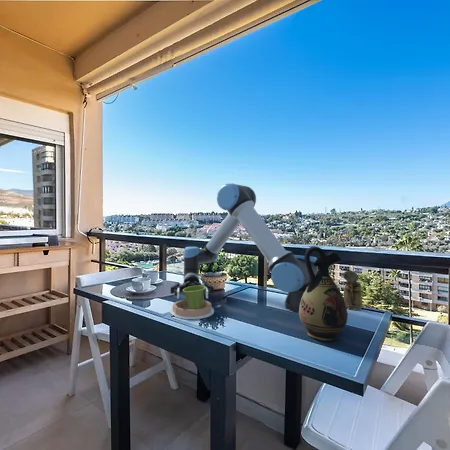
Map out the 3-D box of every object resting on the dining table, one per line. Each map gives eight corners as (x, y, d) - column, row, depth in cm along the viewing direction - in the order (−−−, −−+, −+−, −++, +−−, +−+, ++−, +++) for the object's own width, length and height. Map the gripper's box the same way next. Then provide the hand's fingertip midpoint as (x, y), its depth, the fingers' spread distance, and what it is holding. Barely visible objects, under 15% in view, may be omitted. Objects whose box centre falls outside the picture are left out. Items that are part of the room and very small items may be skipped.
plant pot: (204, 312, 115) (202, 290, 115) (181, 313, 117) (179, 291, 117) (210, 305, 124) (208, 285, 124) (189, 305, 126) (187, 285, 126)
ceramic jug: (335, 326, 106) (337, 245, 105) (355, 345, 91) (358, 250, 90) (288, 326, 106) (290, 244, 105) (301, 345, 90) (303, 249, 89)
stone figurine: (337, 310, 125) (338, 268, 125) (343, 302, 136) (344, 264, 136) (359, 314, 120) (361, 271, 120) (364, 306, 132) (365, 266, 131)
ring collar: (222, 310, 123) (222, 302, 123) (196, 322, 108) (196, 314, 107) (189, 302, 132) (189, 295, 132) (160, 313, 117) (160, 305, 117)
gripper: (216, 289, 139) (221, 303, 117) (166, 290, 136) (162, 305, 114) (216, 274, 139) (221, 285, 117) (166, 274, 136) (162, 286, 114)
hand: (192, 295), depth 116 cm, fingers open, 11 cm apart
